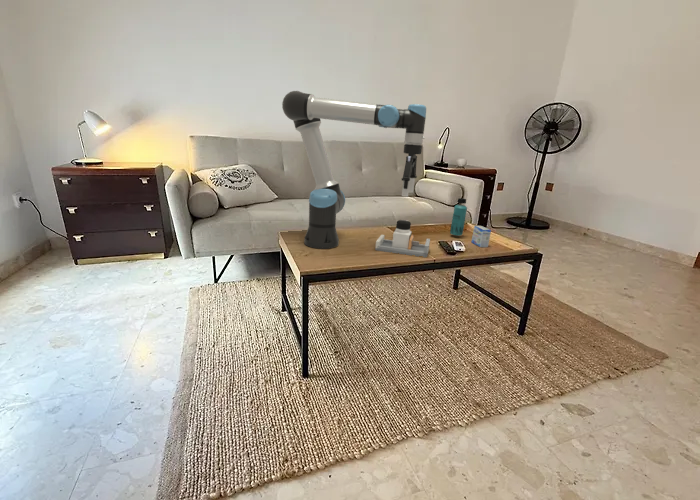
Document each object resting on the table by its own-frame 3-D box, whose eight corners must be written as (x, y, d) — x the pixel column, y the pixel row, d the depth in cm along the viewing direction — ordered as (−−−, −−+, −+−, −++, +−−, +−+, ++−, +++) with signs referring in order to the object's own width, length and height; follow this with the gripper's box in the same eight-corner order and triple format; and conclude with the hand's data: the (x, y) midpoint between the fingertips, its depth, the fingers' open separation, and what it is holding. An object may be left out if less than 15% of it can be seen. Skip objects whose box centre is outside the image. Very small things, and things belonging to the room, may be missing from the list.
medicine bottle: (408, 250, 148) (411, 223, 144) (391, 248, 149) (394, 221, 146) (410, 246, 154) (413, 220, 150) (394, 244, 156) (396, 218, 152)
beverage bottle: (450, 234, 183) (456, 196, 177) (463, 236, 181) (469, 198, 175) (448, 237, 178) (454, 198, 172) (461, 239, 175) (468, 200, 169)
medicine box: (470, 242, 171) (473, 225, 168) (479, 242, 172) (482, 225, 169) (479, 247, 163) (483, 229, 161) (488, 247, 164) (491, 229, 162)
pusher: (407, 250, 147) (409, 239, 145) (410, 245, 155) (411, 234, 153) (417, 252, 146) (418, 240, 144) (419, 246, 154) (420, 236, 152)
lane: (375, 250, 149) (376, 239, 147) (380, 242, 160) (381, 232, 158) (426, 257, 144) (428, 246, 142) (428, 249, 155) (430, 238, 153)
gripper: (418, 144, 133) (411, 199, 140) (425, 144, 156) (420, 191, 163) (398, 143, 136) (393, 197, 142) (409, 143, 158) (404, 190, 165)
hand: (407, 194), depth 152 cm, fingers open, 13 cm apart
